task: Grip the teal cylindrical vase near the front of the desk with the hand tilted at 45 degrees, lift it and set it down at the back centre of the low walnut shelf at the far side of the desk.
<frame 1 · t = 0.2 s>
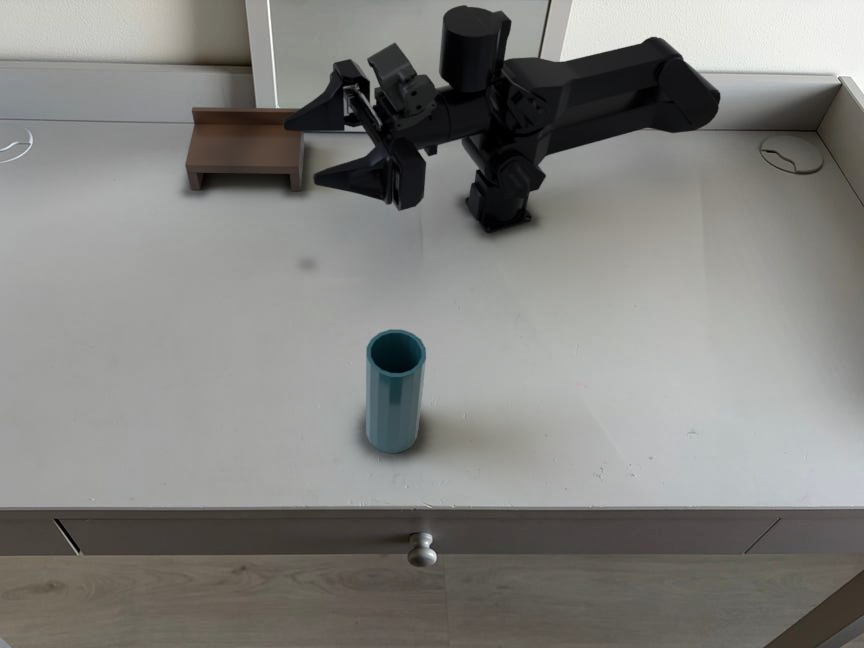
hand: (298, 151, 79), 16 cm above the table, tool horizontal, fingers open, 9 cm apart
shelf: (250, 157, 103), on the table
teal cylindrical vase: (391, 430, 78), on the table
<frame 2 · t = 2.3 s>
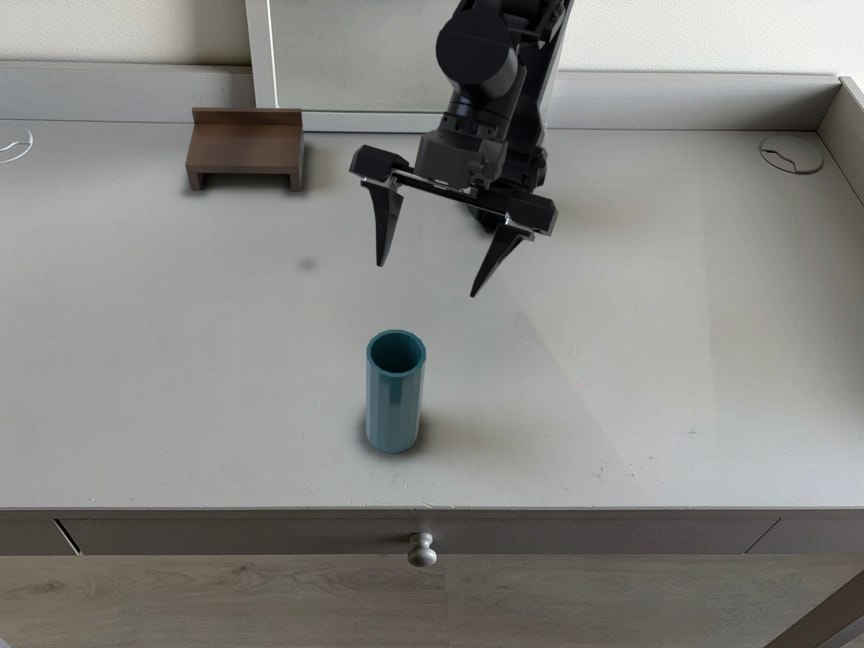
hand: (425, 281, 72), 14 cm above the table, tool tilted 45°, fingers open, 9 cm apart
nothing on the table moved.
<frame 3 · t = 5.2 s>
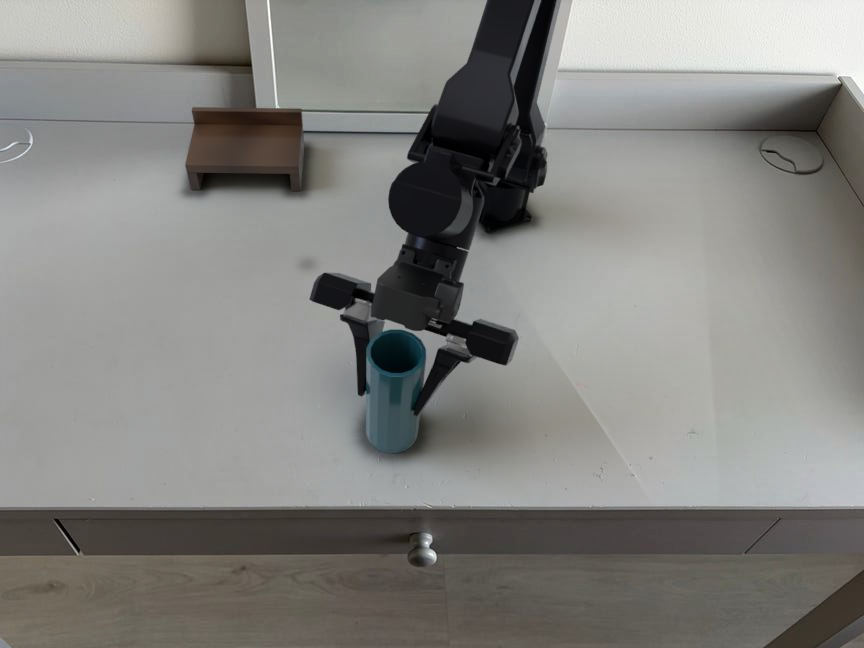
hand: (388, 405, 72), 7 cm above the table, tool tilted 45°, fingers closed on teal cylindrical vase, 5 cm apart
teal cylindrical vase: (391, 430, 78), on the table, touching gripper
when the fingers open (11 cm above the table, at t = 14.9 s): teal cylindrical vase stays where it is, resting on shelf.
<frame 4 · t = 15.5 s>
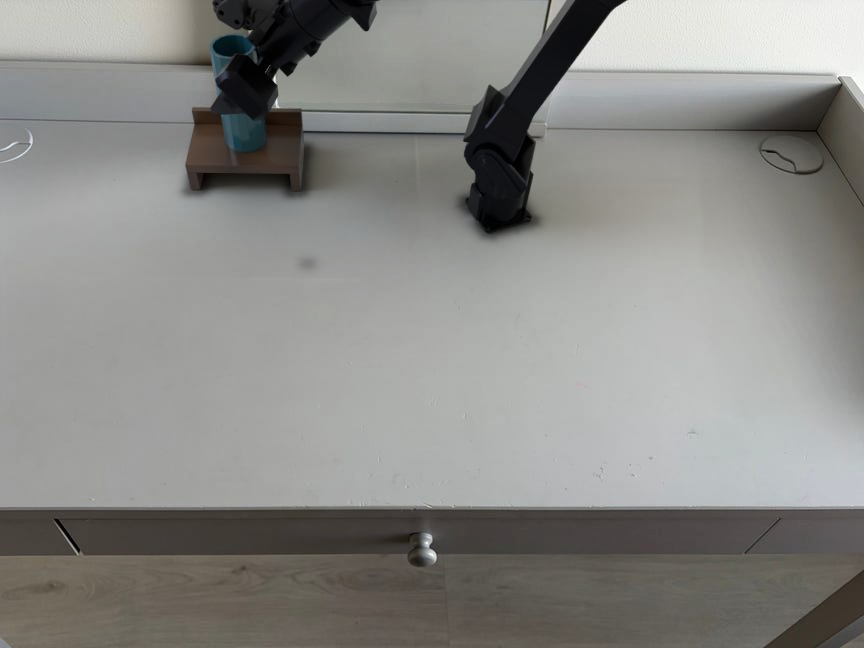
hand: (227, 89, 94), 11 cm above the table, tool tilted 45°, fingers open, 9 cm apart
teal cylindrical vase: (246, 139, 99), point 4 cm above the table, touching shelf
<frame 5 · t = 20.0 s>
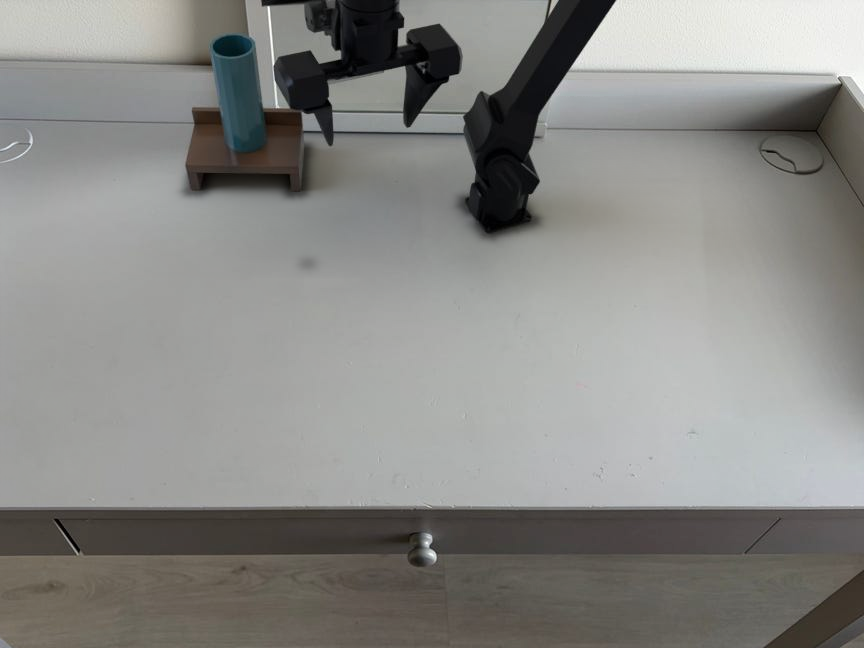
hand: (368, 134, 86), 13 cm above the table, tool pointing down, fingers open, 9 cm apart
nothing on the table moved.
at the end: teal cylindrical vase 0.1 cm from the target spot on the shelf, point 4.0 cm above the shelf's base; teal cylindrical vase tilted 0°; the gripper is holding nothing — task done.
